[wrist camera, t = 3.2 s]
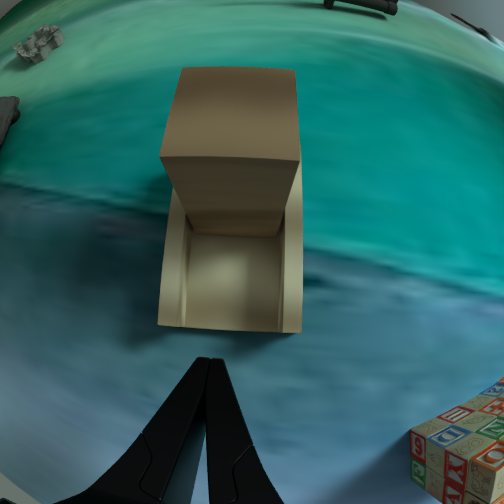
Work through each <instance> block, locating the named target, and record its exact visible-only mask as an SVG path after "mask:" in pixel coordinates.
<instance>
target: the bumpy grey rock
mask: <svg viewBox="0 0 504 504" xmlns="http://www.w3.org/2000/svg"><path fill="white" fill-rule="evenodd" d="M60 27H61V26H60ZM60 27H57V26H56V27H55V26H54V25H53V26H49V25H46V24H44V25H42V26H41V27H40V28H39V29H38V30H37V31H34V34H33V35H32V36H29V37H28V41H27V42H26V43H25V44H22V43H21V42H20V43H18V44H17V45H16V46H15V47H14V46H12V48H14V49H15V50H16V51H17V56H18V58H20V60H22V61H23V60H24V59H25V60H26V61H27V62H30V61H31V60H32V61H33V62H34V64H37V63H39V62H40V61H43V60H45V59H46V58H47V57H48V54H49V52H50V51H51V50H53V49H54V48H57V47H59V46H60V45H62V44H63V40H64V39H65V38H64V36H63V34H62V32H61V30H60ZM35 46H36V48H35V49H34V50H33V52H32V51H31V50H32V49H33V48H34V47H35ZM28 51H29V52H28ZM37 51H38V52H37ZM26 52H28V53H26Z"/></svg>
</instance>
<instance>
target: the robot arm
mask: <svg viewBox="0 0 504 504" xmlns="http://www.w3.org/2000/svg"><path fill="white" fill-rule="evenodd" d="M205 432H206V451H207V472H208V489H209V504H284V502H283V501H282V499H281V498H280V496H279V495H278V493H277V491H276V490H275V488H274V486H273V485H272V483H271V481H270V480H269V478H268V476H267V474H266V472H265V470H264V469H263V466H262V464H261V462H260V459H259V457H258V455H257V452H256V450H255V447H254V446H253V442H252V439H251V437H250V434H249V431H248V428H247V426H246V423H245V420H244V418H243V415H242V412H241V409H240V406H239V403H238V401H237V398H236V395H235V392H234V389H233V386H232V383H231V380H230V377H229V374H228V371H227V368H226V365H225V362H224V360H223V359H222V358H211V359H210V358H208V357H198V358H196V360H195V361H194V362H193V364H192V365H191V366H190V368H189V369H188V371H187V372H186V373H185V375H184V376H183V377H182V379H181V380H180V381H179V383H178V384H177V385H176V387H175V388H174V389H173V391H172V392H171V393H170V395H169V396H168V398H167V399H166V400H165V402H164V403H163V404H162V406H161V407H160V408H159V410H158V411H157V412H156V414H155V415H154V416H153V418H152V419H151V420H150V422H149V423H148V424H147V425H146V427H145V428H144V429H143V431H142V433H140V435H139V436H138V437H137V439H136V440H135V441H134V442H133V444H132V445H131V446H130V447H129V448H128V450H127V451H126V452H125V453H124V454H123V455H122V456H121V457H120V458H119V459H118V460H117V462H116V463H115V464H113V465H112V466H111V467H110V468H109V469H108V470H107V471H106V472H105V473H104V474H103V475H102V476H101V477H100V478H99V479H98V480H97V481H96V482H95V483H94V484H92V485H91V486H90V487H89V488H88V489H86V490H85V491H83V492H81V493H80V494H77V495H75V496H73V497H70V498H67V499H65V500H62V501H59V502H56V503H54V504H190V503H191V499H192V494H193V489H194V484H195V480H196V475H197V470H198V465H199V461H200V456H201V451H202V446H203V442H204V437H205ZM0 504H16V503H14V502H12V501H9V500H7V499H5V498H1V499H0Z"/></svg>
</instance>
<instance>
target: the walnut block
mask: <svg viewBox="0 0 504 504" xmlns="http://www.w3.org/2000/svg"><path fill="white" fill-rule="evenodd" d="M159 157H160V159H161V161H162V164H163V166H164V168H165V170H166V172H167V174H168V177H169V179H170V181H171V183H172V185H173V187H174V189H175V191H176V193H177V196H178V198H179V200H180V202H181V204H182V206H183V208H184V210H185V212H186V214H187V216H188V218H189V220H190V222H191V224H192V227H193V229H194V231H195V233H196V234H198V235H222V236H244V237H266V238H276V235H277V232H278V229H279V225H280V222H281V219H282V216H283V213H284V210H285V207H286V204H287V201H288V197H289V194H290V191H291V188H292V185H293V182H294V178H295V175H296V172H297V169H298V166H299V163H300V147H299V126H298V108H297V93H296V79H295V70H289V69H277V68H262V67H230V66H218V67H186V68H182V71H181V74H180V78H179V81H178V85H177V88H176V92H175V95H174V99H173V102H172V106H171V110H170V114H169V118H168V122H167V126H166V130H165V134H164V138H163V142H162V147H161V151H160V156H159Z"/></svg>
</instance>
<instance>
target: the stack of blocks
mask: <svg viewBox="0 0 504 504" xmlns="http://www.w3.org/2000/svg"><path fill="white" fill-rule="evenodd" d="M410 447H411V479H412V480H413V481H414V482H415V483H416V484H418V485H419V486H420V487H421V488H423V489H424V490H426V491H427V492H428V493H430V494H431V495H432V496H433V497H434V498H436V499H437V500H438V501H440V502H441V503H442V504H504V378H502V379H501V380H499V381H498V382H497V383H496V384H494V385H492V386H491V387H489V388H488V389H486V390H485V391H483V392H481V393H480V394H479V395H477V396H475V397H474V398H472V399H470V400H468V401H467V402H465V403H463V404H462V405H460V406H457V407H455V408H453V409H451V410H449V411H447V412H445V413H444V414H442V415H440V416H438V417H436V418H433V419H431V420H429V421H427V422H424V423H422V424H420V425H418V426H416V427H413V428H411V429H410Z"/></svg>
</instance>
